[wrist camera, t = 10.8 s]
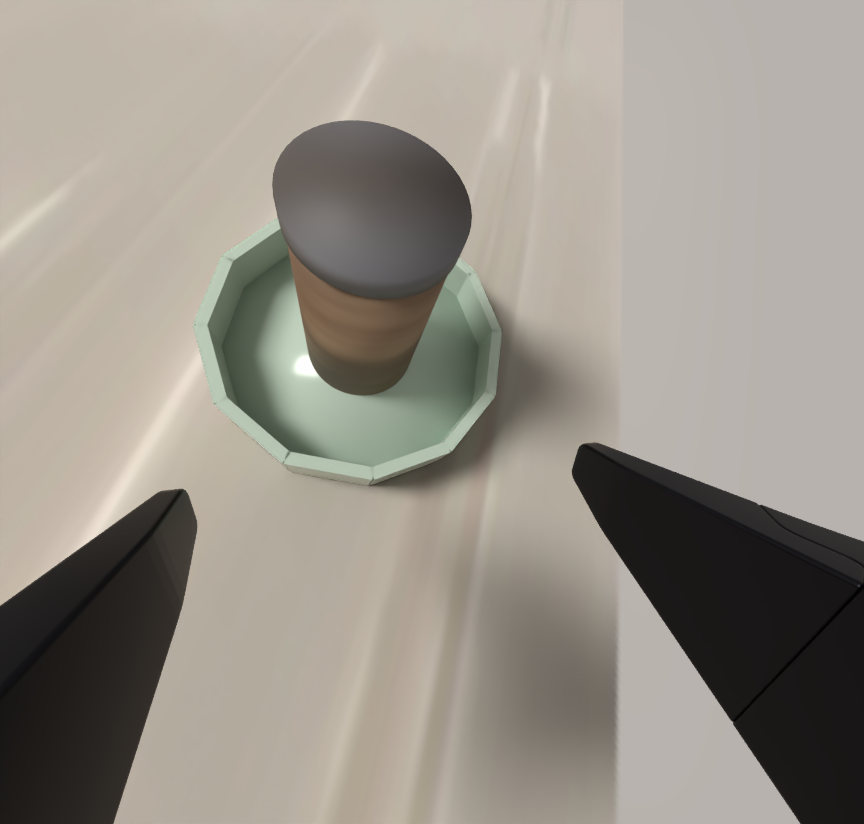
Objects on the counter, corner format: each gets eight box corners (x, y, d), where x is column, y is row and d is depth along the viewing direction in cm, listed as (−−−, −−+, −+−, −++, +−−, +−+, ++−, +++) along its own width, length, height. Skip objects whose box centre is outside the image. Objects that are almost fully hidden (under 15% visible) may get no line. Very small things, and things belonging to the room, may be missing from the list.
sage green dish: (523, 352, 21) (546, 331, 19) (372, 542, 16) (377, 545, 14) (352, 206, 21) (353, 167, 19) (151, 351, 16) (119, 323, 14)
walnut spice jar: (430, 372, 18) (504, 249, 10) (334, 415, 17) (328, 308, 8) (384, 289, 19) (416, 109, 11) (287, 321, 18) (238, 136, 9)
